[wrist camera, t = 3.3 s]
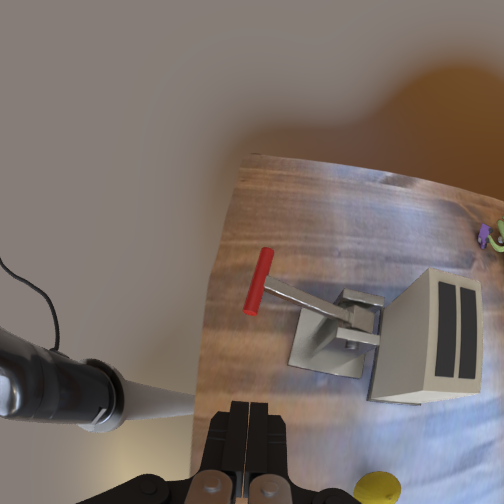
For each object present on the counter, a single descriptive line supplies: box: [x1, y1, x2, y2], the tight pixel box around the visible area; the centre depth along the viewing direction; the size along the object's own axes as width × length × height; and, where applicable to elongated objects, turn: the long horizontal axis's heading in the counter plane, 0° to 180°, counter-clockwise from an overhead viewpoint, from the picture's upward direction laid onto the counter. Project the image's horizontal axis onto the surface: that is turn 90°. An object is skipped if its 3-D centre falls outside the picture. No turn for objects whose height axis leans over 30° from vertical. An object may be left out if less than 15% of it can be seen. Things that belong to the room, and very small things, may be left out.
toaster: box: [366, 267, 483, 406], centre depth 29 cm, size 9×14×14 cm, turn 164°
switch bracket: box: [287, 288, 384, 379], centre depth 31 cm, size 10×8×13 cm
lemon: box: [354, 471, 401, 504], centre depth 22 cm, size 6×6×8 cm
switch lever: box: [243, 247, 375, 334], centre depth 26 cm, size 13×6×2 cm, turn 74°
